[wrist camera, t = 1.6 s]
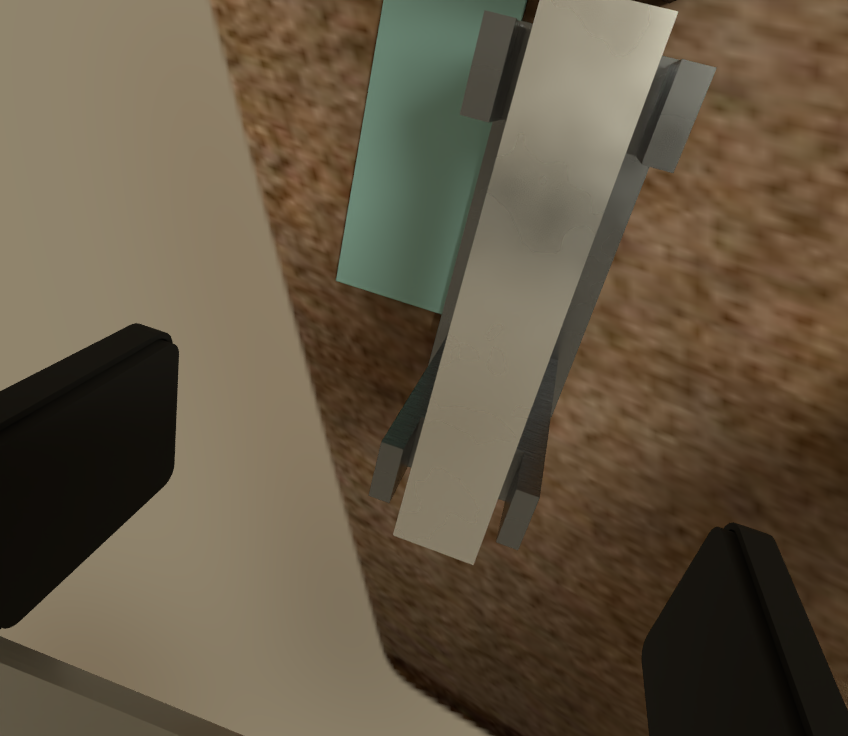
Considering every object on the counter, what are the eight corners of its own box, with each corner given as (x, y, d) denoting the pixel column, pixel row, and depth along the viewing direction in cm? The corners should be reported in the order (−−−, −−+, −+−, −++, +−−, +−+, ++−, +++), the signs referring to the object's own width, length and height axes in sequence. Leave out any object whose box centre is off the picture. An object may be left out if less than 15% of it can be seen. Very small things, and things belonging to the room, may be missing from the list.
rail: (664, 26, 16) (678, 11, 13) (487, 512, 23) (473, 565, 21) (553, -2, 16) (544, -21, 13) (415, 486, 24) (392, 535, 21)
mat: (556, -109, 23) (555, -112, 23) (444, 312, 31) (442, 314, 31) (410, -141, 24) (407, -145, 23) (338, 278, 32) (335, 280, 32)
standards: (687, 63, 24) (764, 36, 13) (552, 410, 32) (530, 573, 21) (521, 22, 25) (465, -36, 14) (429, 369, 33) (347, 505, 22)
